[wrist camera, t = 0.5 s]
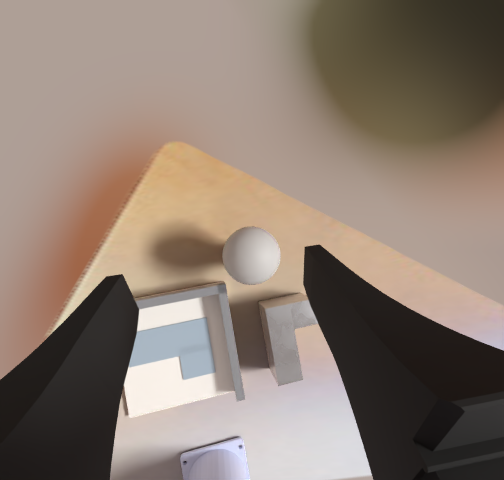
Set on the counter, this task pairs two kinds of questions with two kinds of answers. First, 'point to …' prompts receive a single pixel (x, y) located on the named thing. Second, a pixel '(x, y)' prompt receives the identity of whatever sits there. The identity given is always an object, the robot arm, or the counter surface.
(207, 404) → the counter surface
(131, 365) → the white tray
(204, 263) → the counter surface
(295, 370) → the bracket
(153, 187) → the counter surface
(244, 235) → the lightbulb
